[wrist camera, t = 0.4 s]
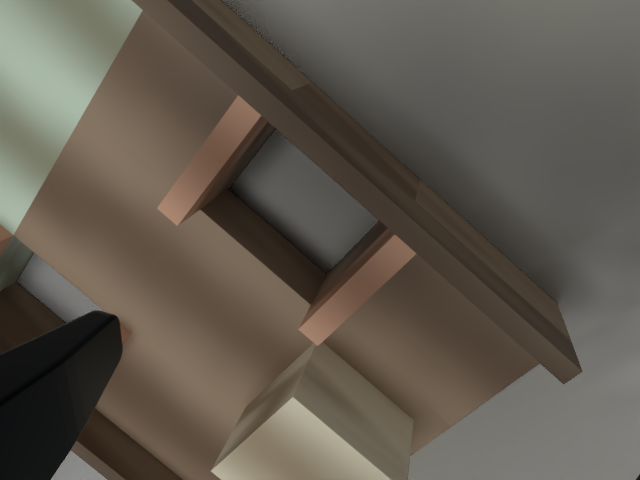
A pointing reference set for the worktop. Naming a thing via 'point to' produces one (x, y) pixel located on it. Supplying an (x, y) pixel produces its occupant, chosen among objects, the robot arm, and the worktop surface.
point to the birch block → (318, 427)
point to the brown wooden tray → (230, 236)
